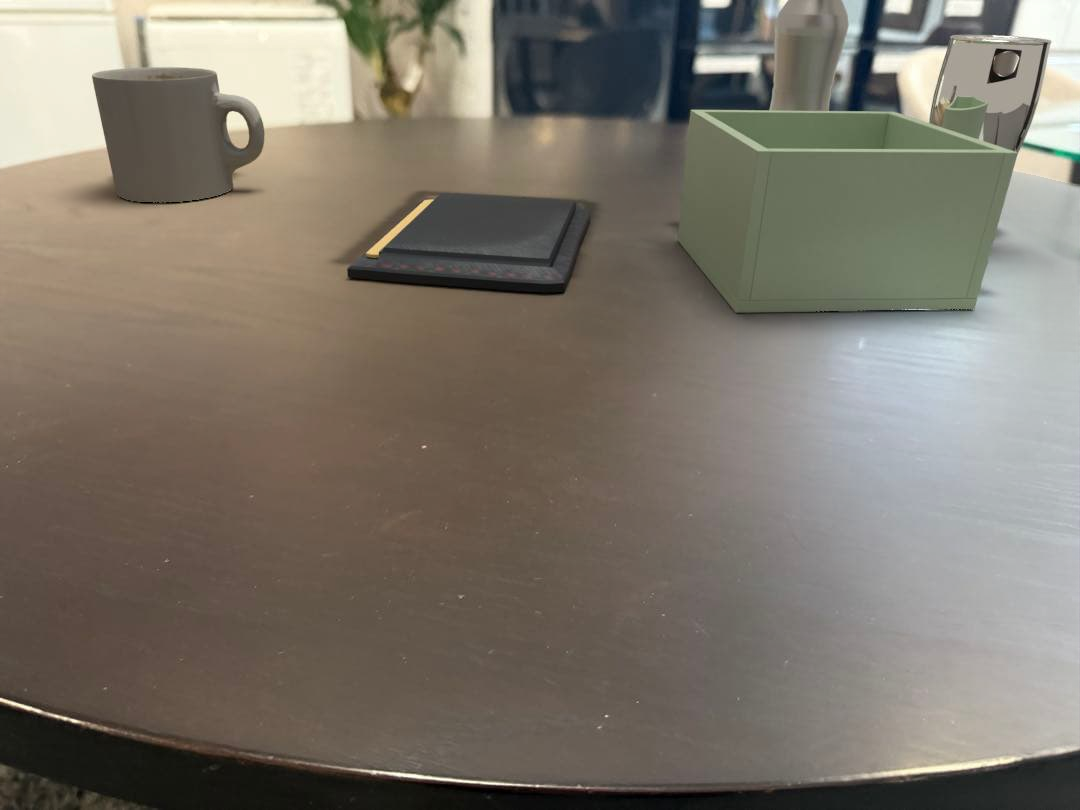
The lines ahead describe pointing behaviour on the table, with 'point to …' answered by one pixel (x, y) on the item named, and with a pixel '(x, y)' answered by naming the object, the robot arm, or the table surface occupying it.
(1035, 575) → the table surface
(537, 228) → the wallet
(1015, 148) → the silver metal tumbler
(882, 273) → the bin
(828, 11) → the plastic bottle
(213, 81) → the coffee mug
